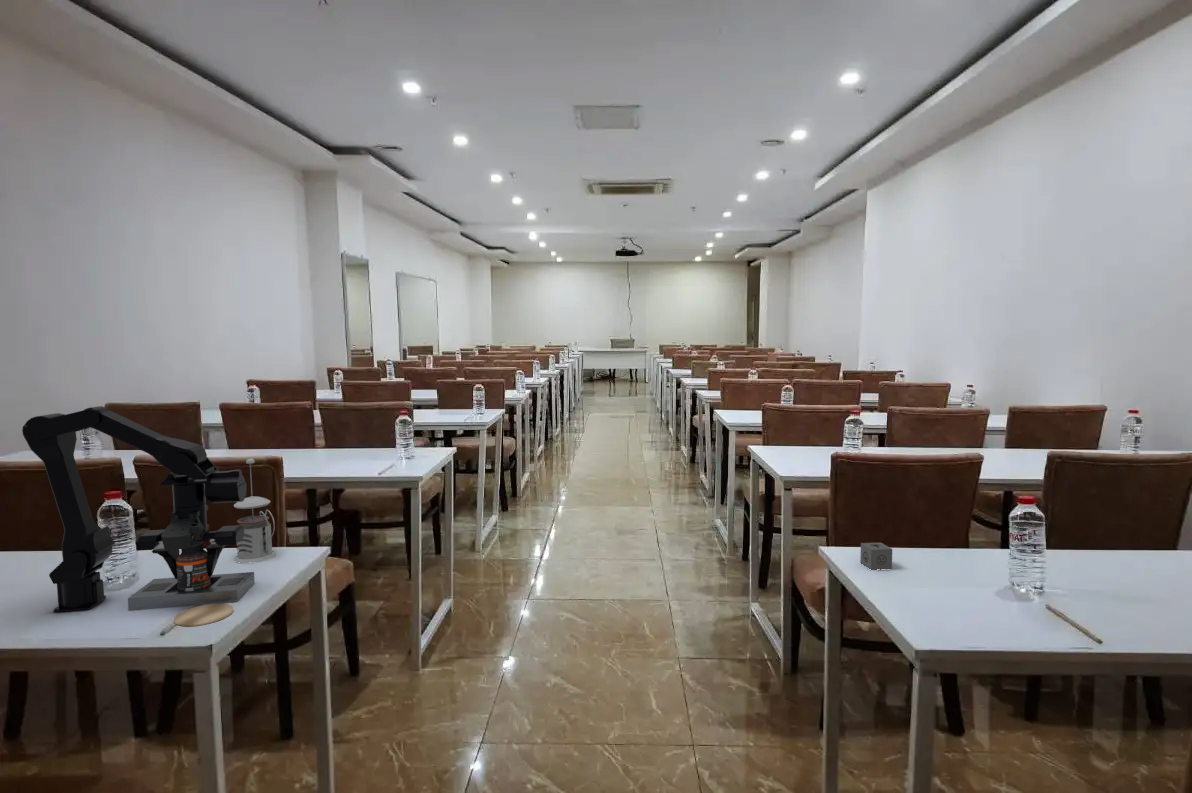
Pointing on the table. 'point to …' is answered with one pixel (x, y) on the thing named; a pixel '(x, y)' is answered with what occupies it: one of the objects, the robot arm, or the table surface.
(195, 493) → the robot arm
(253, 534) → the french press
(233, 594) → the grey compartment tray
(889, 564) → the dice cube
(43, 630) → the table surface
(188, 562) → the supplement bottle
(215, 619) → the cork coaster
